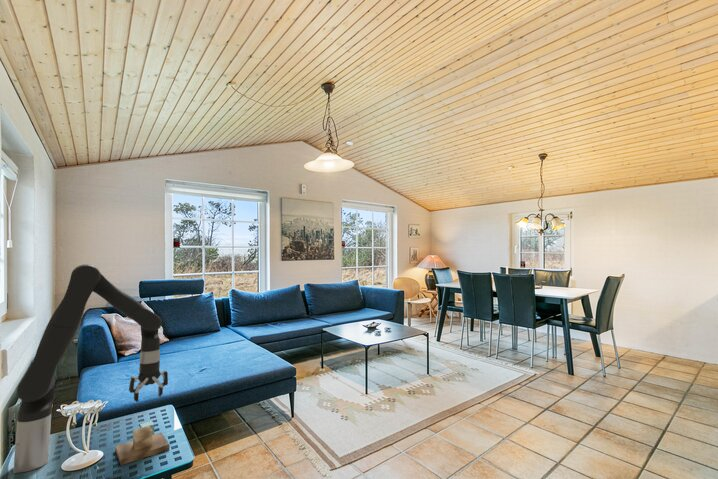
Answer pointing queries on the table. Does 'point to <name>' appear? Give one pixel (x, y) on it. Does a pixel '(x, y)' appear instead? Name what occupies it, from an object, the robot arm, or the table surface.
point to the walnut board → (129, 454)
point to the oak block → (142, 437)
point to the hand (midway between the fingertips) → (148, 398)
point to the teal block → (148, 425)
